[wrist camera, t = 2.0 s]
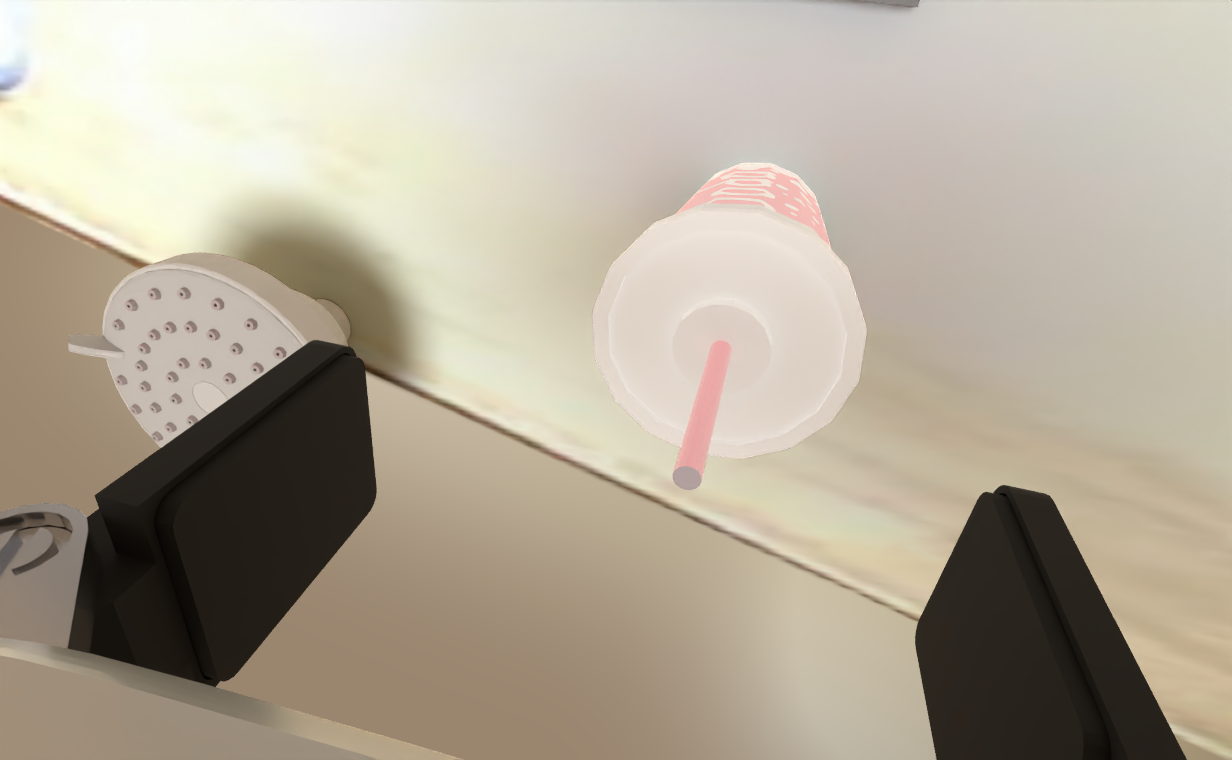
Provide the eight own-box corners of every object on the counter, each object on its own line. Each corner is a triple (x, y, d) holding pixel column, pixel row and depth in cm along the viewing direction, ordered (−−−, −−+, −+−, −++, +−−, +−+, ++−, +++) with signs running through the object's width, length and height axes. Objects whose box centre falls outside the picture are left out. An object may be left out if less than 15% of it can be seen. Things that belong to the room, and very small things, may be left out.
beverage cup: (876, 159, 21) (959, 364, 9) (815, 334, 24) (817, 657, 12) (682, 117, 22) (526, 256, 10) (647, 292, 25) (496, 557, 13)
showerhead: (45, 216, 21) (341, 354, 20) (221, 168, 27) (450, 273, 27) (70, 444, 26) (308, 557, 25) (214, 358, 32) (407, 449, 31)
